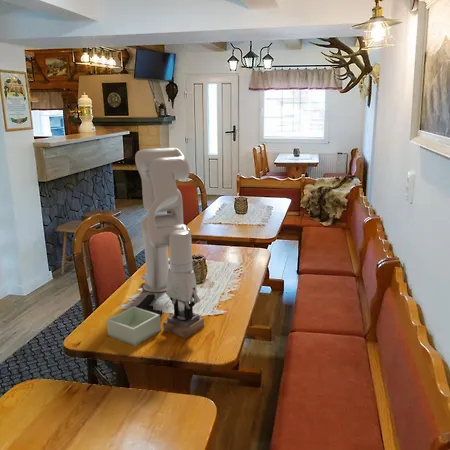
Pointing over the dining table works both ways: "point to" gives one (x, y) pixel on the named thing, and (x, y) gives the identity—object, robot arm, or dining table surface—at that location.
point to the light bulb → (181, 311)
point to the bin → (133, 325)
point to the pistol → (149, 304)
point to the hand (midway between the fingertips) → (183, 315)
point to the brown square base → (183, 325)
